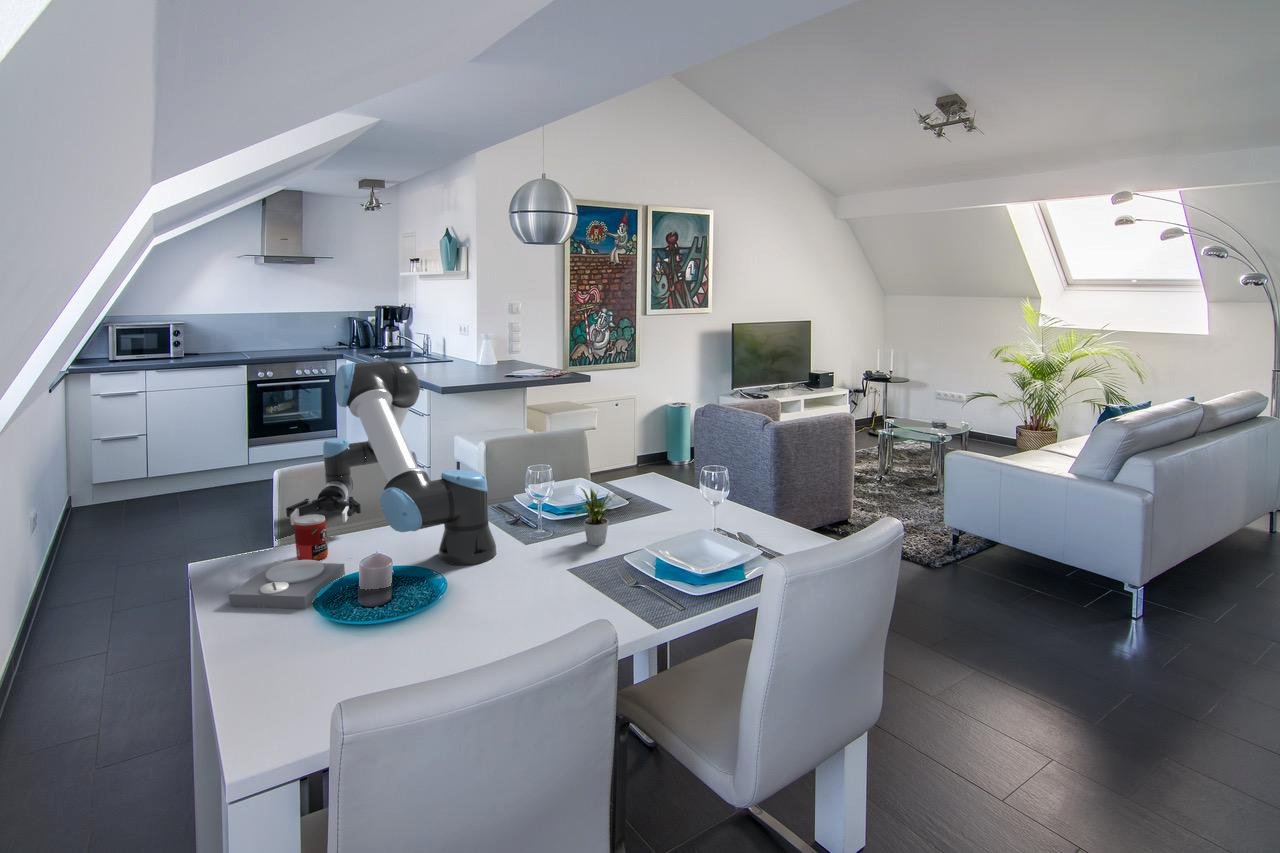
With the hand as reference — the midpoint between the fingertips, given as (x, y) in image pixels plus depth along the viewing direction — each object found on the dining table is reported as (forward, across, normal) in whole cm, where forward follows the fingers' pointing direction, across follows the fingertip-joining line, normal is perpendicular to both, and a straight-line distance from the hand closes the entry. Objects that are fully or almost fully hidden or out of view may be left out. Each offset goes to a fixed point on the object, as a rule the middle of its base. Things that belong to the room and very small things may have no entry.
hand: (317, 519), depth 216 cm
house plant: (+12, -75, -7) cm, 77 cm away
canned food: (+10, 0, -8) cm, 13 cm away
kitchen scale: (+32, 0, -7) cm, 32 cm away
